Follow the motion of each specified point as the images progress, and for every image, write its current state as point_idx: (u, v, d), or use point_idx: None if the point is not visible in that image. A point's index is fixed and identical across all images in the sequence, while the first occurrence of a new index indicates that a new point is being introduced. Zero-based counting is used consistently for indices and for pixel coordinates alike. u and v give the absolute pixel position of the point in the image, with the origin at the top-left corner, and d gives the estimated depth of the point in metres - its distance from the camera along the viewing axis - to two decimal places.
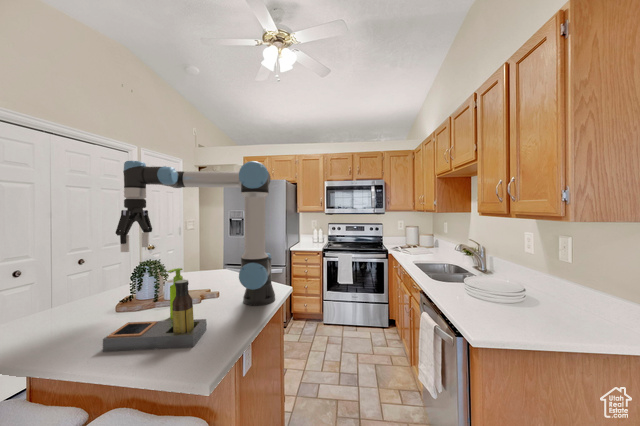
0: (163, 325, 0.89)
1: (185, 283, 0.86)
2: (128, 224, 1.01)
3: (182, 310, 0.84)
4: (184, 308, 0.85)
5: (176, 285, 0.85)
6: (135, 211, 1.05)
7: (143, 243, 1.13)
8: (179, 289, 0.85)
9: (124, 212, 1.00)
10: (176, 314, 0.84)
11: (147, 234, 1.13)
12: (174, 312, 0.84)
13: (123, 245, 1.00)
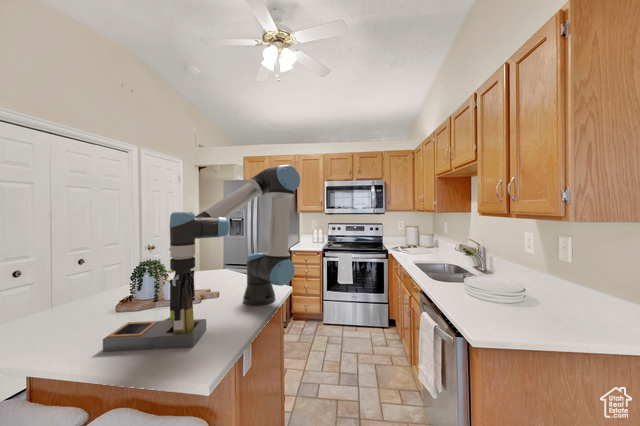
0: (163, 325, 0.89)
1: None
2: (180, 295, 0.84)
3: None
4: (184, 308, 0.85)
5: None
6: (183, 272, 0.85)
7: None
8: None
9: (173, 283, 0.81)
10: None
11: None
12: None
13: (177, 321, 0.84)
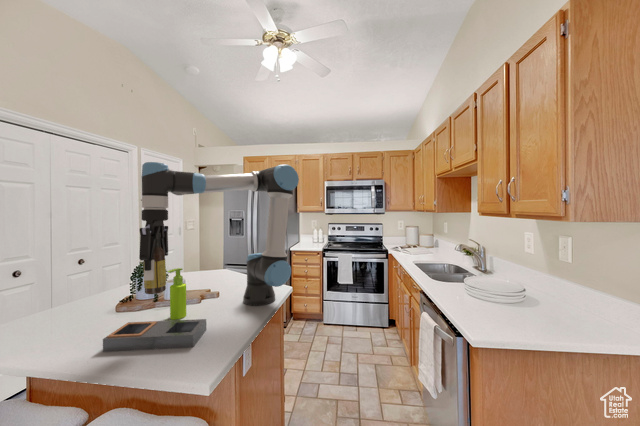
0: (163, 325, 0.89)
1: None
2: (151, 245, 0.83)
3: None
4: (156, 259, 0.84)
5: None
6: (155, 223, 0.84)
7: None
8: None
9: (143, 231, 0.80)
10: None
11: None
12: None
13: (147, 272, 0.82)
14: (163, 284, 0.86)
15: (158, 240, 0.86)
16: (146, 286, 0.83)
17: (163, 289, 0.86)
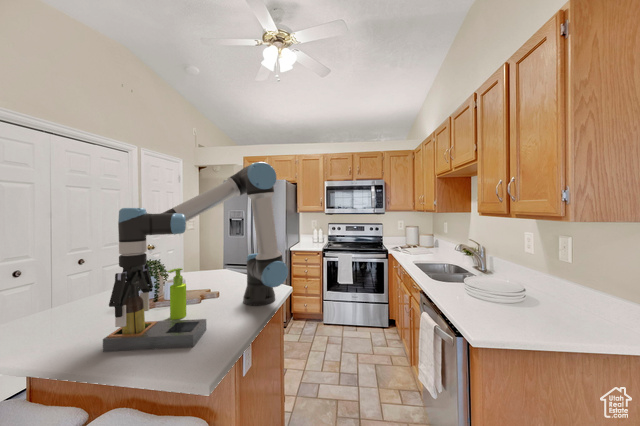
0: (163, 325, 0.89)
1: (134, 285, 0.84)
2: (124, 290, 0.81)
3: (131, 313, 0.83)
4: (133, 310, 0.83)
5: None
6: (133, 270, 0.84)
7: None
8: None
9: (119, 276, 0.79)
10: None
11: (147, 295, 0.92)
12: None
13: (119, 318, 0.79)
14: None
15: (136, 290, 0.85)
16: None
17: None
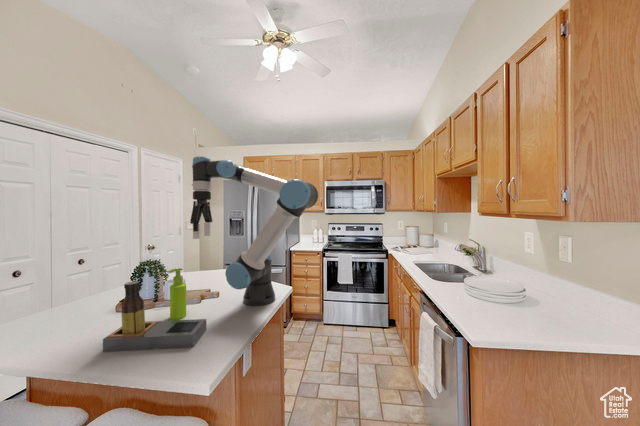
0: (163, 325, 0.89)
1: (135, 285, 0.85)
2: (198, 214, 1.12)
3: (131, 313, 0.83)
4: (133, 310, 0.83)
5: (125, 287, 0.84)
6: (203, 202, 1.16)
7: (205, 232, 1.24)
8: (128, 291, 0.84)
9: (196, 203, 1.11)
10: (124, 316, 0.83)
11: (209, 224, 1.24)
12: (122, 314, 0.83)
13: (195, 232, 1.10)
14: None
15: (136, 290, 0.85)
16: None
17: None
